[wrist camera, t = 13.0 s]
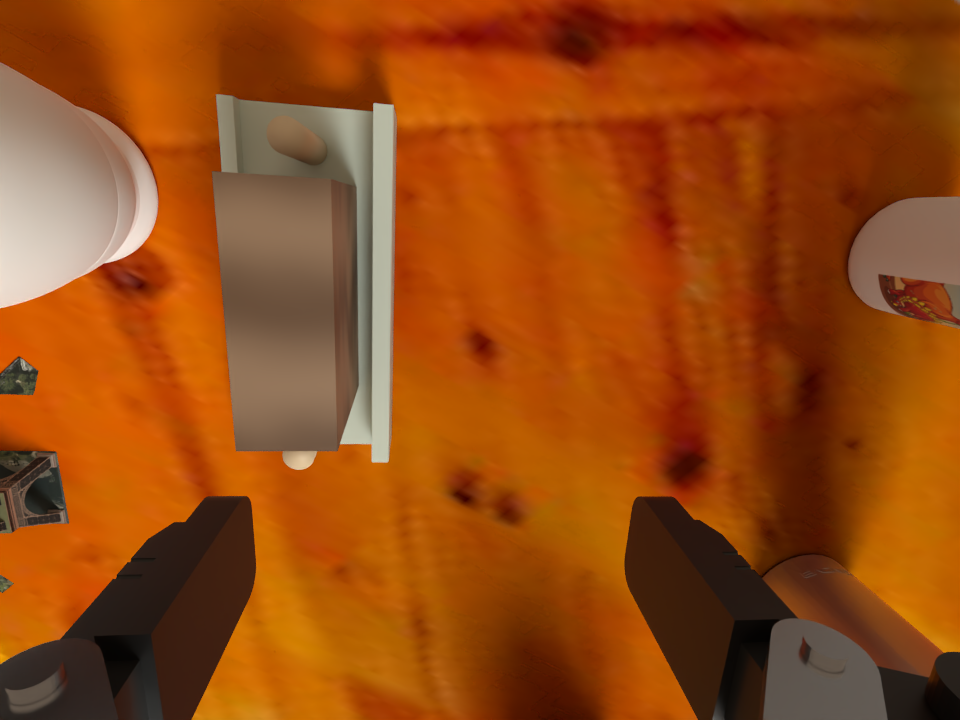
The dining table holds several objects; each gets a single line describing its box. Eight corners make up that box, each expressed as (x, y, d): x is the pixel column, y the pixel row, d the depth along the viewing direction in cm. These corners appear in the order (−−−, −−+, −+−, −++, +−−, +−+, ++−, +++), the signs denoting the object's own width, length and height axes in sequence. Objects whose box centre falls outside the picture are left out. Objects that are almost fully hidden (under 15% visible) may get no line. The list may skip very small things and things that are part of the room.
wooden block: (358, 386, 32) (337, 451, 24) (281, 385, 32) (231, 451, 23) (356, 186, 29) (331, 178, 20) (270, 181, 28) (206, 170, 20)
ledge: (391, 434, 35) (384, 492, 28) (254, 433, 34) (211, 493, 27) (396, 118, 30) (389, 90, 22) (233, 103, 28) (170, 69, 21)
